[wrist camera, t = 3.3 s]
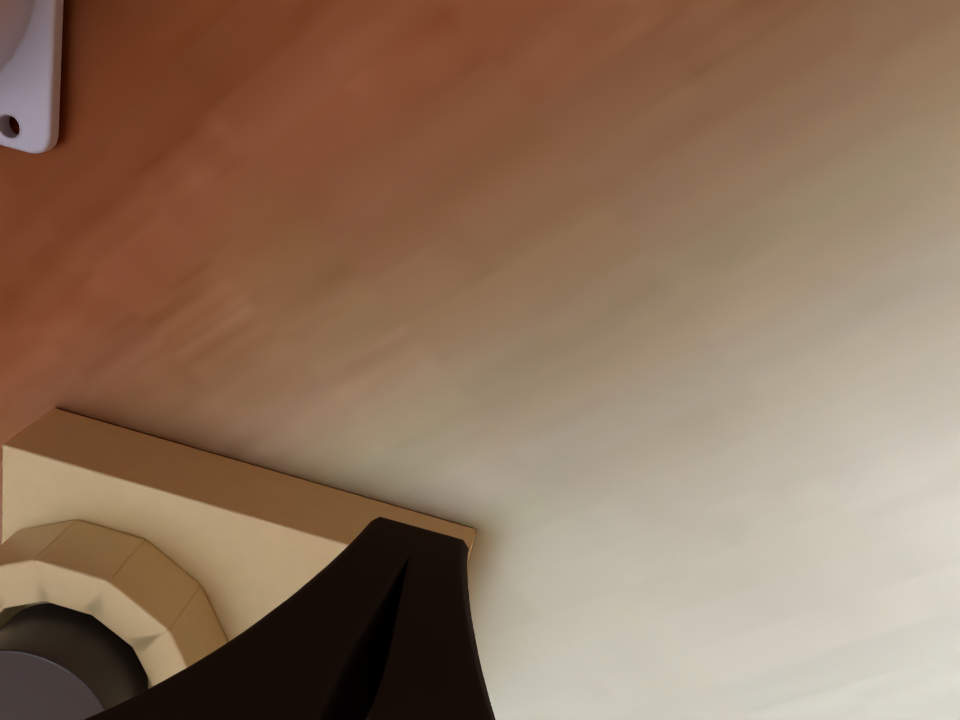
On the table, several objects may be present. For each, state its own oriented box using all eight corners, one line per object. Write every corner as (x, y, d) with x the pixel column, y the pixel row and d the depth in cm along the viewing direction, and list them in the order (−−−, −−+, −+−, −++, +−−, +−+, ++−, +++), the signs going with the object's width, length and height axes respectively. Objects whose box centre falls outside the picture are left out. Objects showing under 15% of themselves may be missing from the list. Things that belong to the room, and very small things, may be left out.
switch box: (29, 673, 27) (-60, 776, 24) (38, 402, 23) (-69, 475, 20) (403, 784, 27) (370, 906, 23) (477, 528, 23) (451, 627, 19)
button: (0, 700, 23) (-46, 752, 21) (2, 583, 21) (-48, 630, 20) (142, 742, 23) (107, 798, 21) (155, 629, 21) (117, 680, 19)
